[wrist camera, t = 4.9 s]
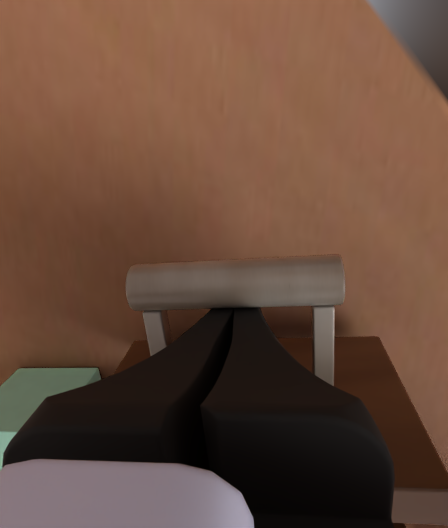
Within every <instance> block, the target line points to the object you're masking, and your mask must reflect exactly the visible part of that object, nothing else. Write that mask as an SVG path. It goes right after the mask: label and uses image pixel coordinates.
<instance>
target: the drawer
mask: <svg viewBox="0 0 448 528" xmlns="http://www.w3.org/2000/svg"><path fill="white" fill-rule="evenodd" d="M126 296H127V301H128V304H129V306H130V307H131V309H133V310H134V311H144V312H143V319H144V324H145V329H146V334H147V339H148V340H142V341H134V343H133V344H132V346H131V347H130V349H129V350H128V352H127V354H126V355H125V357H124V358H123V360H122V362H121V363H120V365H119V366H118V368H117V369H116V371H115V373H114V374H116V373H119V372H121V371H123V370H126V369H127V368H129V367H131V366H133V365H135V364H137V363H139V362H141V361H143V360H145V359H147V358H149V357H151V356H152V355H154V354H156V353H157V352H159V351H160V350H162V349H164V348H165V347H167V346H168V345H170V344H171V343H172V342H174V341H175V340H172V339H171V333H170V327H169V321H168V315H167V310H185V309H219V308H252V307H286V306H311V338H277V339H278V341H279V342H280V343H281V344H282V346H283V347H284V348H285V349H286V350H287V351H288V352H289V353H290V355H291V356H292V357H293V358H294V359H295V360H297V361H298V362H299V363H300V364H301V365H302V366H304V367H305V368H306V369H308V370H309V371H310V372H311V373H313V374H314V375H316V376H317V377H319V378H321V379H322V380H324V381H326V382H327V383H329V384H331V385H332V386H334V387H337V388H339V389H341V390H343V391H345V392H347V393H349V394H351V395H354V396H356V397H358V398H360V399H361V400H362V402H363V403H364V405H365V406H366V408H367V410H368V411H369V413H370V414H371V416H372V418H373V419H374V421H375V423H376V425H377V427H378V429H379V430H380V432H381V434H382V436H383V438H384V440H385V442H386V444H387V447H388V449H389V451H390V454H391V457H392V460H393V464H394V474H395V482H394V494H393V505H392V516H391V518H392V522H393V525H394V528H406V526H405V523H407V524H426V525H445V526H448V473H447V471H446V469H445V467H444V465H443V463H442V461H441V459H440V457H439V455H438V453H437V451H436V449H435V447H434V445H433V443H432V441H431V439H430V437H429V435H428V433H427V431H426V429H425V427H424V425H423V423H422V421H421V419H420V417H419V416H418V414H417V412H416V410H415V408H414V406H413V404H412V402H411V400H410V398H409V396H408V394H407V392H406V390H405V388H404V386H403V384H402V382H401V380H400V378H399V376H398V374H397V372H396V370H395V368H394V366H393V364H392V362H391V360H390V358H389V356H388V354H387V352H386V350H385V348H384V346H383V344H382V342H381V340H380V338H379V337H377V336H371V337H334V326H335V308H334V305H341V304H343V302H344V298H345V272H344V265H343V261H342V258H341V256H340V255H338V254H332V255H312V256H292V257H272V258H251V259H231V260H211V261H191V262H171V263H150V264H134V265H132V266H131V267H130V268H129V270H128V273H127V277H126ZM114 374H113V375H114Z"/></svg>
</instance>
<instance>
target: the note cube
mask: <svg viewBox="0 0 448 528" xmlns="http://www.w3.org/2000/svg"><path fill="white" fill-rule="evenodd" d="M99 380H101V377H100V373H99V369H98V368H19V369H18V370H16V371H15V372H14V373H13V374H12V375H11V376H10V377H9V378H8V379H7V380H6V381H5V382H4V383H3V384H2V385H1V386H0V471H1V469H2V468H3V467H2V463H3V453H4V451H5V449H6V447H7V445H8V444H9V442H10V441H11V439H12V438H13V437H14V436H15V434H16V433H17V432H18V431H19V430H20V428H21V427H22V426H23V425H24V424H25V422H26V421H27V420H28V419H29V417H30V416H31V415H32V414H33V413H34V411H35V410H36V409H37V408H38V407H39V405H40V404H41V403H42V402H43V401H44V399H45V398H46V397H48V396H52V395H56V394H59V393H62V392H65V391H69V390H72V389H75V388H79V387H82V386H85V385H88V384H91V383H94V382H96V381H99Z"/></svg>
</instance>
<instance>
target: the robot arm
mask: <svg viewBox="0 0 448 528" xmlns="http://www.w3.org/2000/svg"><path fill="white" fill-rule="evenodd" d="M2 467H3V468H2V469H1V471H0V528H394V525H393V522H392V518H391V516H392V505H393V494H394V482H395V474H394V464H393V460H392V457H391V454H390V451H389V449H388V447H387V444H386V442H385V440H384V438H383V436H382V434H381V432H380V430H379V429H378V427H377V425H376V423H375V421H374V419H373V418H372V416H371V414H370V413H369V411H368V410H367V408H366V406H365V405H364V403H363V402H362V400H361V399H360V398H358V397H356V396H354V395H351V394H349V393H347V392H345V391H343V390H341V389H339V388H337V387H334V386H332V385H331V384H329V383H327V382H326V381H324V380H322V379H321V378H319V377H317V376H316V375H314V374H313V373H311V372H310V371H309V370H308V369H306V368H305V367H304V366H302V365H301V364H300V363H299V362H298V361H297V360H295V359H294V358H293V357H292V356H291V355H290V353H289V352H288V351H287V350H286V349H285V348H284V347H283V346H282V344H281V343H280V342H279V341H278V339H277V338H276V337H275V335H274V334H273V332H272V331H271V329H270V327H269V326H268V324H267V322H266V320H265V318H264V316H263V314H262V312H261V308H260V307H252V308H219V309H211V310H210V311H209V312H208V313H207V314H206V315H205V316H204V317H203V318H201V319H200V320H199V321H198V322H197V323H196V324H195V325H194V326H193V327H191V328H190V329H189V330H188V331H186V332H185V333H184V334H183V335H181V336H180V337H179V338H178V339H176V340H175V341H174V342H172V343H171V344H170V345H168V346H167V347H165V348H164V349H162V350H160V351H159V352H157V353H156V354H154V355H152V356H151V357H149V358H147V359H145V360H143V361H141V362H139V363H137V364H135V365H133V366H131V367H129V368H127V369H126V370H123V371H121V372H119V373H116V374H114V375H112V376H109V377H107V378H104V379H102V380H99V381H96V382H94V383H91V384H88V385H85V386H82V387H79V388H75V389H72V390H69V391H65V392H62V393H59V394H56V395H52V396H48V397H46V398H45V399H44V401H43V402H42V403H41V404H40V405H39V407H38V408H37V409H36V410H35V411H34V413H33V414H32V415H31V416H30V417H29V419H28V420H27V421H26V422H25V424H24V425H23V426H22V427H21V428H20V430H19V431H18V432H17V433H16V434H15V436H14V437H13V438H12V439H11V441H10V442H9V444H8V445H7V447H6V449H5V451H4V453H3V463H2Z"/></svg>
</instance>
